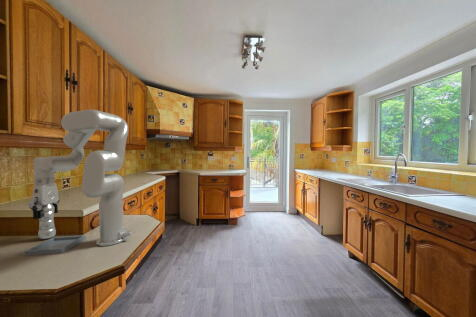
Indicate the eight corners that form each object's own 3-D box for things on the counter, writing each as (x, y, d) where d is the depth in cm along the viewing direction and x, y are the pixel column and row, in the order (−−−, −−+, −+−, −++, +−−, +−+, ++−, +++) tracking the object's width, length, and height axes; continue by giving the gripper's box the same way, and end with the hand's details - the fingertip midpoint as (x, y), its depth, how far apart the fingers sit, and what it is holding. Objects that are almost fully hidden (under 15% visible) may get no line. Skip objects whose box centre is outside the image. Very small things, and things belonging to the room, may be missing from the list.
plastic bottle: (45, 241, 98) (43, 200, 98) (34, 240, 99) (32, 199, 99) (59, 235, 104) (58, 197, 104) (49, 235, 106) (47, 197, 106)
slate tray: (85, 239, 99) (85, 235, 99) (62, 253, 84) (62, 248, 84) (53, 241, 98) (53, 237, 98) (24, 255, 83) (24, 251, 83)
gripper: (37, 183, 93) (38, 220, 94) (66, 179, 111) (67, 210, 111) (19, 184, 93) (21, 221, 93) (51, 180, 110) (52, 211, 110)
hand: (46, 215), depth 102 cm, fingers open, 9 cm apart
